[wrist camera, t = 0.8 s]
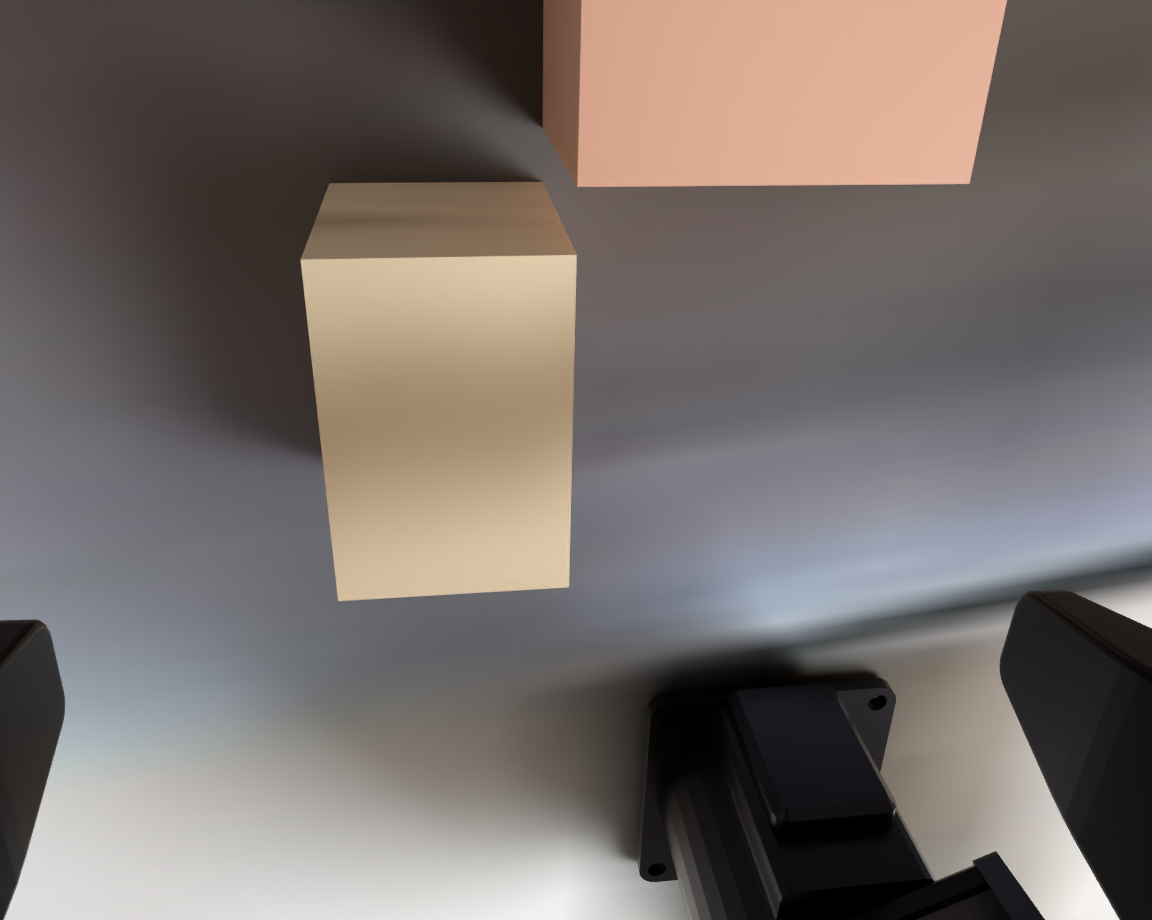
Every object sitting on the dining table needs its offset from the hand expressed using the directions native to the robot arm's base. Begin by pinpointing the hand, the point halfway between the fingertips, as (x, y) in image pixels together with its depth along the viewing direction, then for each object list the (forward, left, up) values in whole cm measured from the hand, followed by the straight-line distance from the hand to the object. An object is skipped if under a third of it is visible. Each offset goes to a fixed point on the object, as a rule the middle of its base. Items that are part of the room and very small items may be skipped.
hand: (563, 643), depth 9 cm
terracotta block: (+5, -4, -12) cm, 14 cm away
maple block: (-1, +1, -12) cm, 12 cm away
